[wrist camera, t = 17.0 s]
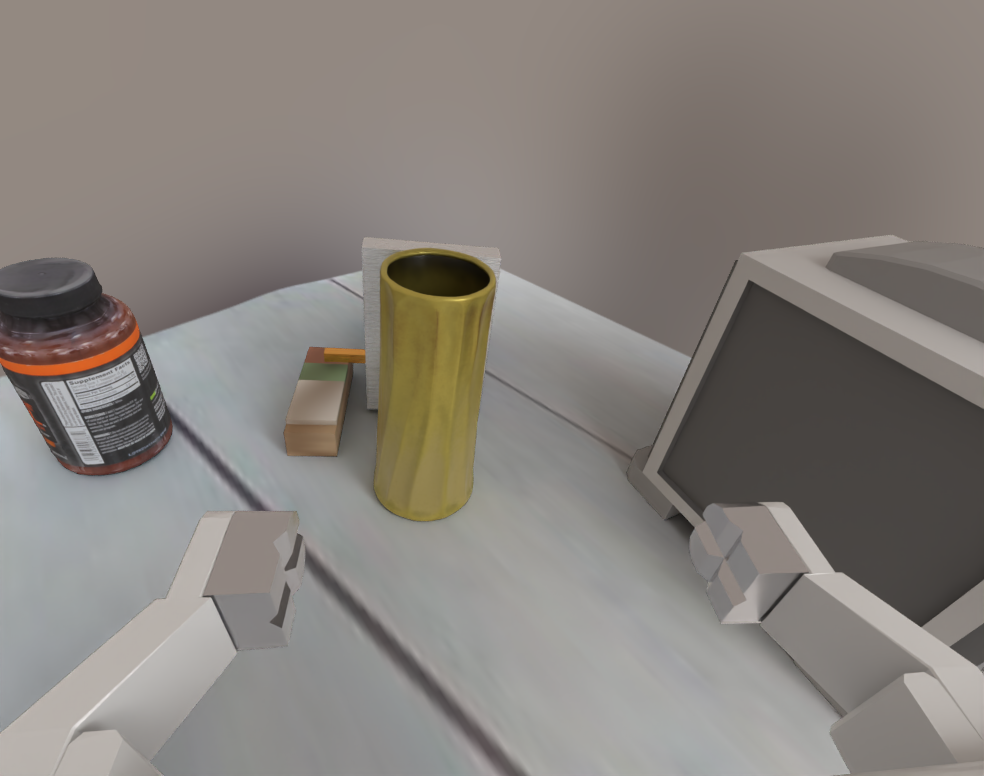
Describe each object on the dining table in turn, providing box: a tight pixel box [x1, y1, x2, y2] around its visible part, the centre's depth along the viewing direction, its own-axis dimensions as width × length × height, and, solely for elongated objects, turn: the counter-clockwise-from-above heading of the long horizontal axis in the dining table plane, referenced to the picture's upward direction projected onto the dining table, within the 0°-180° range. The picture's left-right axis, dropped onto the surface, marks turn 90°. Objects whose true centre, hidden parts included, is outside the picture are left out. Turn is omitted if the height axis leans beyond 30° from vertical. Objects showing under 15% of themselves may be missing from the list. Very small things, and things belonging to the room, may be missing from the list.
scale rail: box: [284, 347, 353, 456], centre depth 34 cm, size 3×9×2 cm, turn 6°
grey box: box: [627, 235, 984, 717], centre depth 25 cm, size 18×13×18 cm
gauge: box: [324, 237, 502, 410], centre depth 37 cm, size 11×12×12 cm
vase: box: [374, 248, 496, 521], centre depth 27 cm, size 6×6×14 cm
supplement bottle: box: [0, 258, 172, 475], centre depth 27 cm, size 6×6×11 cm
